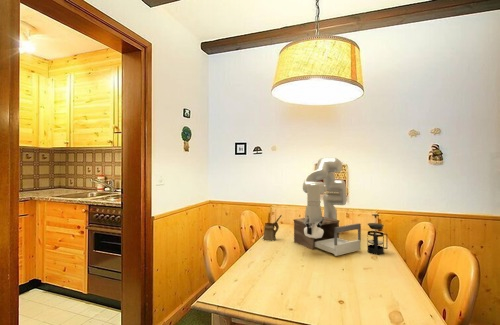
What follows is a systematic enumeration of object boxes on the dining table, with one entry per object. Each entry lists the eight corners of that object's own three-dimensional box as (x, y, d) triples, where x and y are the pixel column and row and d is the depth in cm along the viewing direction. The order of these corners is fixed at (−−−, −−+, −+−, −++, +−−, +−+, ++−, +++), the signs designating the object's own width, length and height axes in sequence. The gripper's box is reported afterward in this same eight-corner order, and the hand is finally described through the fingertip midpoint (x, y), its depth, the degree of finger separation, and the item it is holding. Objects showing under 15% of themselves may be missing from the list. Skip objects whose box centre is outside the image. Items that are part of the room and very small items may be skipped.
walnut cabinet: (319, 237, 195) (319, 215, 195) (339, 243, 179) (339, 220, 179) (293, 242, 182) (293, 219, 182) (312, 249, 166) (312, 224, 167)
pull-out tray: (337, 242, 179) (337, 218, 179) (360, 249, 163) (360, 223, 163) (313, 247, 167) (313, 222, 168) (335, 255, 152) (335, 228, 152)
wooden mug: (280, 242, 182) (280, 216, 183) (261, 240, 187) (261, 214, 187) (282, 238, 191) (282, 213, 191) (264, 237, 195) (264, 212, 195)
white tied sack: (324, 241, 157) (326, 224, 163) (321, 236, 152) (324, 218, 158) (304, 239, 163) (307, 222, 169) (301, 234, 158) (304, 216, 163)
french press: (366, 253, 159) (366, 215, 159) (365, 249, 168) (365, 212, 168) (388, 256, 155) (388, 216, 155) (386, 251, 164) (386, 213, 164)
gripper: (319, 201, 167) (319, 229, 167) (298, 204, 158) (298, 233, 158) (328, 203, 161) (328, 232, 161) (307, 206, 152) (307, 237, 152)
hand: (313, 232), depth 160 cm, fingers closed on white tied sack, 6 cm apart
